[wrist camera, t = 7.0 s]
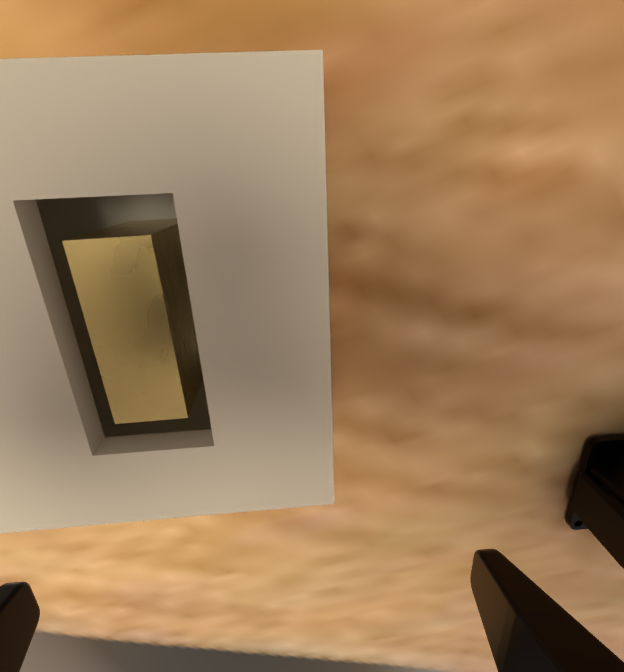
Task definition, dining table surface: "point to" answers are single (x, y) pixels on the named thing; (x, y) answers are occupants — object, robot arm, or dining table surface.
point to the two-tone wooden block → (139, 317)
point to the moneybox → (202, 277)
